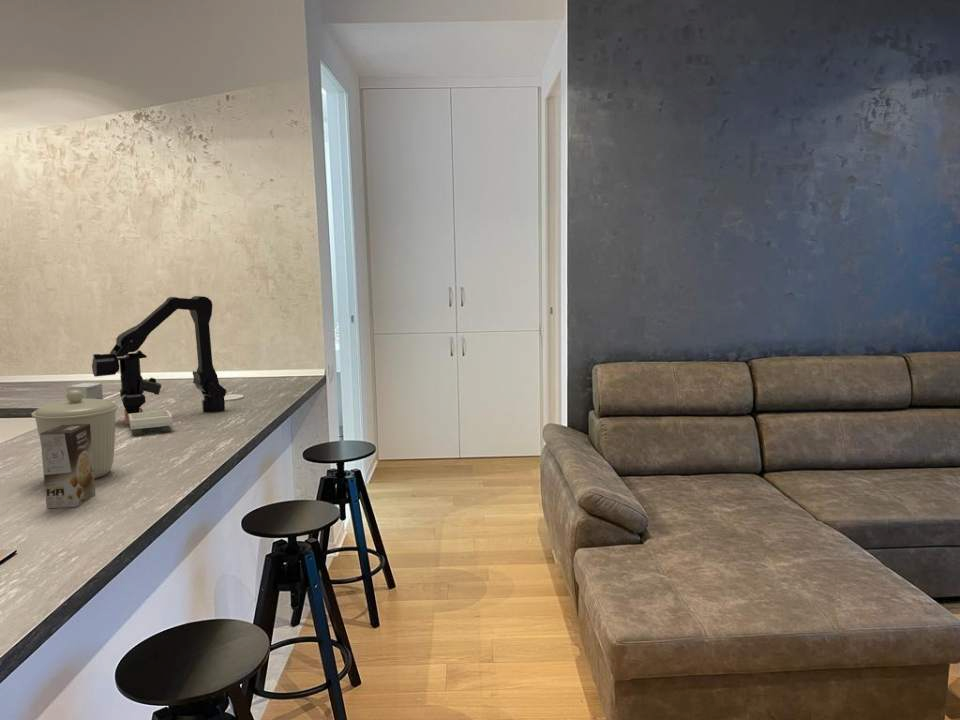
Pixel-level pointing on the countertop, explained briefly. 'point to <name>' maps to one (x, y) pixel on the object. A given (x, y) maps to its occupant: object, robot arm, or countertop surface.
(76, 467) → the coffee box
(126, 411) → the block
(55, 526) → the countertop surface
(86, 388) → the supplement box
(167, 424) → the white tray
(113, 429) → the canister
